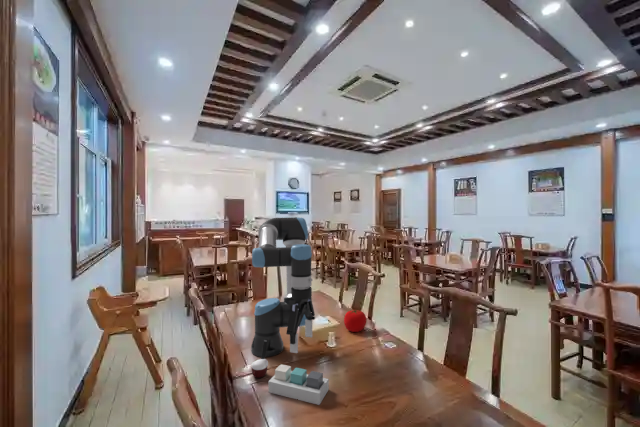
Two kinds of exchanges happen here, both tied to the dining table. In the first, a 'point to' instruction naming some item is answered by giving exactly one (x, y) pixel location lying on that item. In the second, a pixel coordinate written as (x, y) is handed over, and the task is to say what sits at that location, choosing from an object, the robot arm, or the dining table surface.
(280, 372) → the ivory key
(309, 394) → the console
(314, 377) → the charcoal key
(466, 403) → the dining table surface
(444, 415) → the dining table surface
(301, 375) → the teal key
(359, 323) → the red apple
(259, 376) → the cocoa
